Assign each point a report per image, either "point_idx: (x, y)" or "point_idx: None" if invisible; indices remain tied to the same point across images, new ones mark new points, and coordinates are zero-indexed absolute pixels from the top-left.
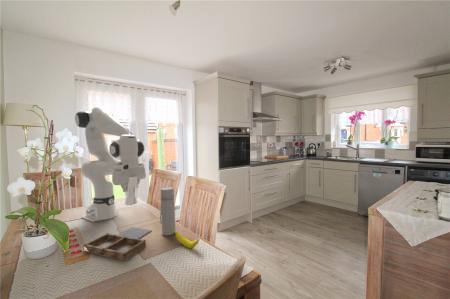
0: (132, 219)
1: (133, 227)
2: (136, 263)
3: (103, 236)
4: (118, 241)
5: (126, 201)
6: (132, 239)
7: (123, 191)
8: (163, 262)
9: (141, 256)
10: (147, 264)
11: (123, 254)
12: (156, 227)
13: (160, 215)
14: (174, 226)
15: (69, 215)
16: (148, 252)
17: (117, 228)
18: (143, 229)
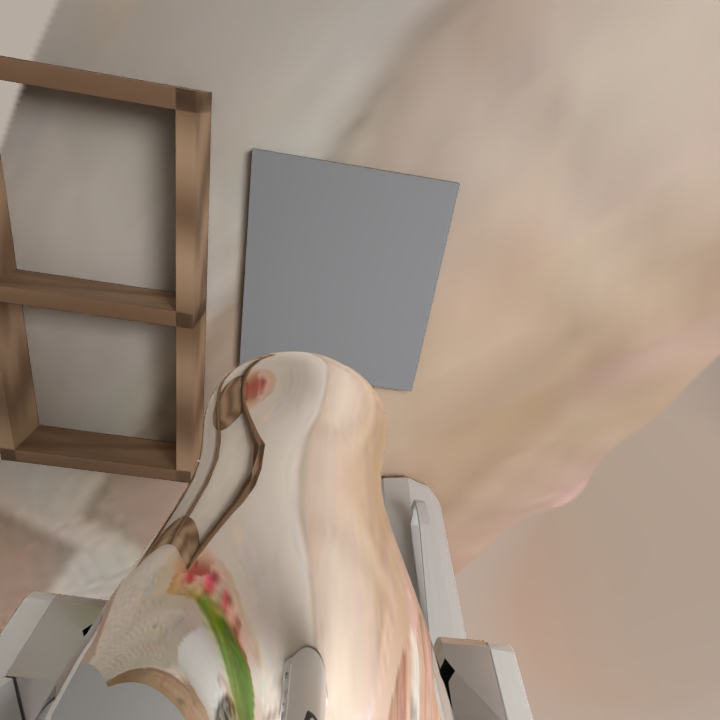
0: (706, 12)
1: (451, 204)
2: (39, 498)
3: (131, 101)
4: (109, 316)
5: (203, 441)
6: (177, 391)
7: (34, 605)
8: (101, 593)
9: (100, 488)
10: (57, 544)
11: (2, 450)
12: (484, 388)
13: (421, 550)
14: None
15: None
16: (148, 501)
17: (438, 8)
18: (418, 322)
